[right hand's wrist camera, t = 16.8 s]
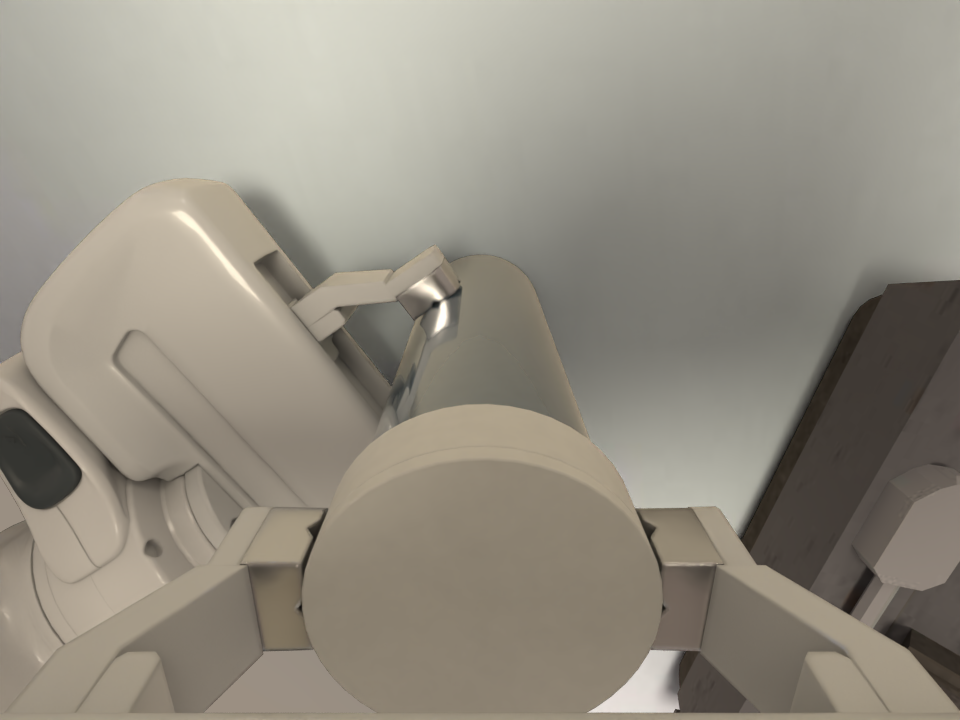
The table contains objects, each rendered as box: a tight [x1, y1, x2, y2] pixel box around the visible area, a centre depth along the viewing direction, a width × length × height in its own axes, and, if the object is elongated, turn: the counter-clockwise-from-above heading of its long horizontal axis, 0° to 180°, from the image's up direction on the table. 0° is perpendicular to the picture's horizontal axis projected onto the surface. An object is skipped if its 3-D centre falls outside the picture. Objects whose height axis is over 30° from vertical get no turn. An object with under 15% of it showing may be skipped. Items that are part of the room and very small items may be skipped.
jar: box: [372, 255, 590, 442], centre depth 17 cm, size 5×5×16 cm
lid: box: [302, 404, 663, 713], centre depth 10 cm, size 6×6×2 cm
